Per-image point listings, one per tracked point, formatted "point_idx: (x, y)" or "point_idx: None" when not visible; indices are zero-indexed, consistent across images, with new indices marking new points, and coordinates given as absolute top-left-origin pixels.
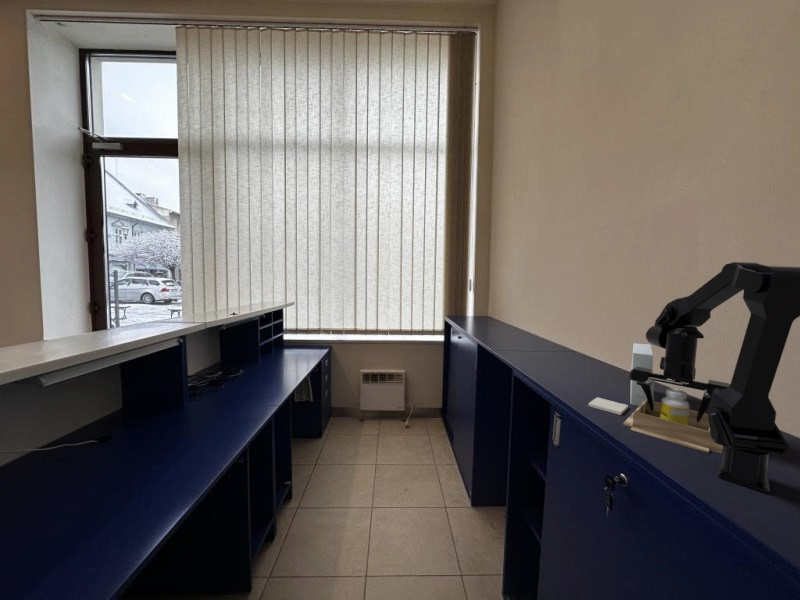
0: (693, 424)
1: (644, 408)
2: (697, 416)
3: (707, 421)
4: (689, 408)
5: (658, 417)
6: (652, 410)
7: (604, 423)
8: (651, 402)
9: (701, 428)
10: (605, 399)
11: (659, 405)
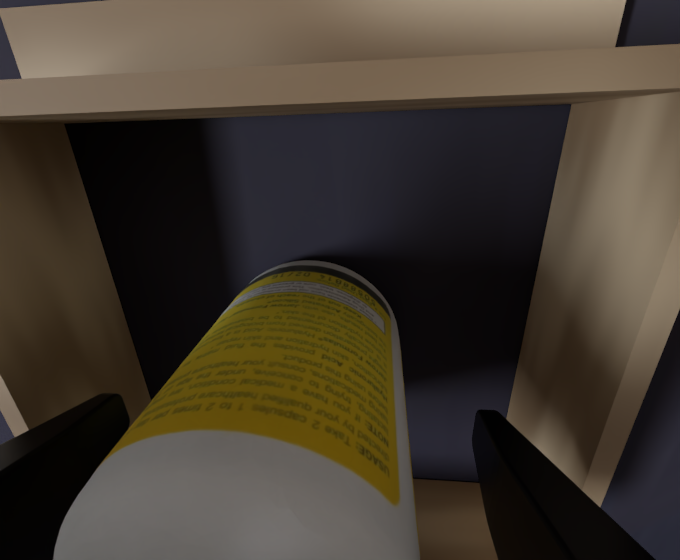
0: (437, 107)
1: (25, 254)
2: (492, 524)
3: (596, 97)
4: (418, 550)
5: (158, 119)
6: (126, 428)
7: None
8: (55, 540)
9: (501, 106)
10: None
11: (50, 116)
